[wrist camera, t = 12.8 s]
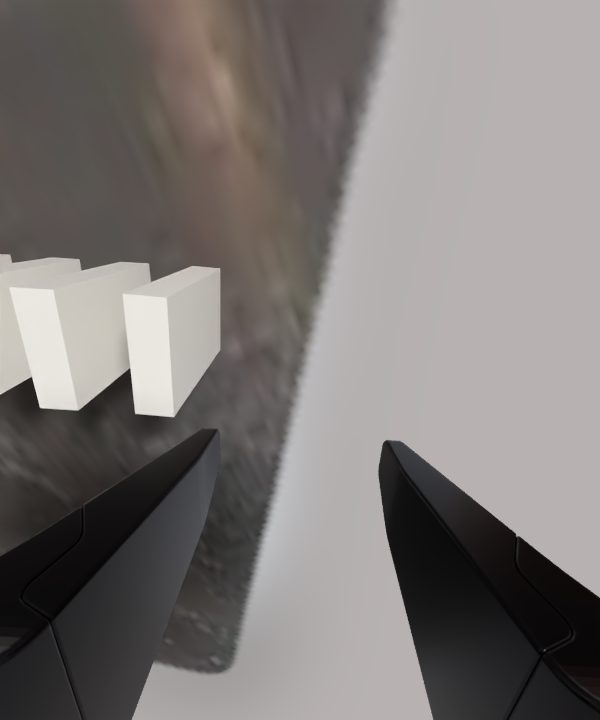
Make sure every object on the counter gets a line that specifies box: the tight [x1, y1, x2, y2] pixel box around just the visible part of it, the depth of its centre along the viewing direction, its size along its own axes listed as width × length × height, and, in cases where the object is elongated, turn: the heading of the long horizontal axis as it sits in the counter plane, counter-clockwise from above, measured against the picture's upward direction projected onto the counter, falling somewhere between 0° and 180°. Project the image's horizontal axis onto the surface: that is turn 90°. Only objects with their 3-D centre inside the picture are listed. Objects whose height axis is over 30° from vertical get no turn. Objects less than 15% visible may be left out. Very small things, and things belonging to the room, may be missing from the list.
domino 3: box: [123, 266, 220, 417], centre depth 17 cm, size 2×5×8 cm, turn 175°
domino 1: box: [0, 257, 81, 394], centre depth 17 cm, size 2×5×8 cm, turn 177°
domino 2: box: [9, 262, 151, 410], centre depth 17 cm, size 2×5×8 cm, turn 177°
